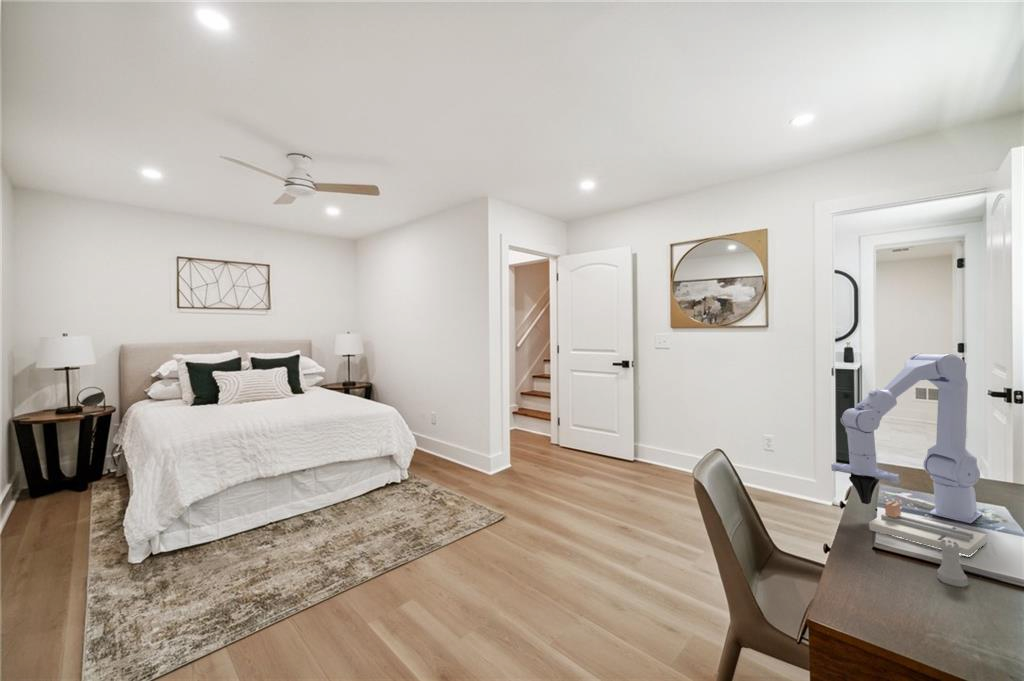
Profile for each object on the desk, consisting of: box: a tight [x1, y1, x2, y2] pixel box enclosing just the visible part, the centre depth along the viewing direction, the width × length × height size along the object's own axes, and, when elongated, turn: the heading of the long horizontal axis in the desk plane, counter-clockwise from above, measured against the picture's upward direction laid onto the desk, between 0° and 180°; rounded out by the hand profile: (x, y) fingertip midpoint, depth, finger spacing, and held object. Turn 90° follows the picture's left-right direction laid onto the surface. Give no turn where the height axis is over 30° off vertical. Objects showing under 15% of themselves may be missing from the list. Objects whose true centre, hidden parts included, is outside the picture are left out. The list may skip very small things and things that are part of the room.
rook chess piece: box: [937, 540, 969, 588], centre depth 85 cm, size 4×4×8 cm
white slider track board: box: [868, 512, 988, 556], centre depth 104 cm, size 12×18×3 cm, turn 29°
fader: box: [884, 500, 902, 518], centre depth 109 cm, size 3×2×4 cm, turn 119°
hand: (866, 502), depth 114 cm, fingers closed
